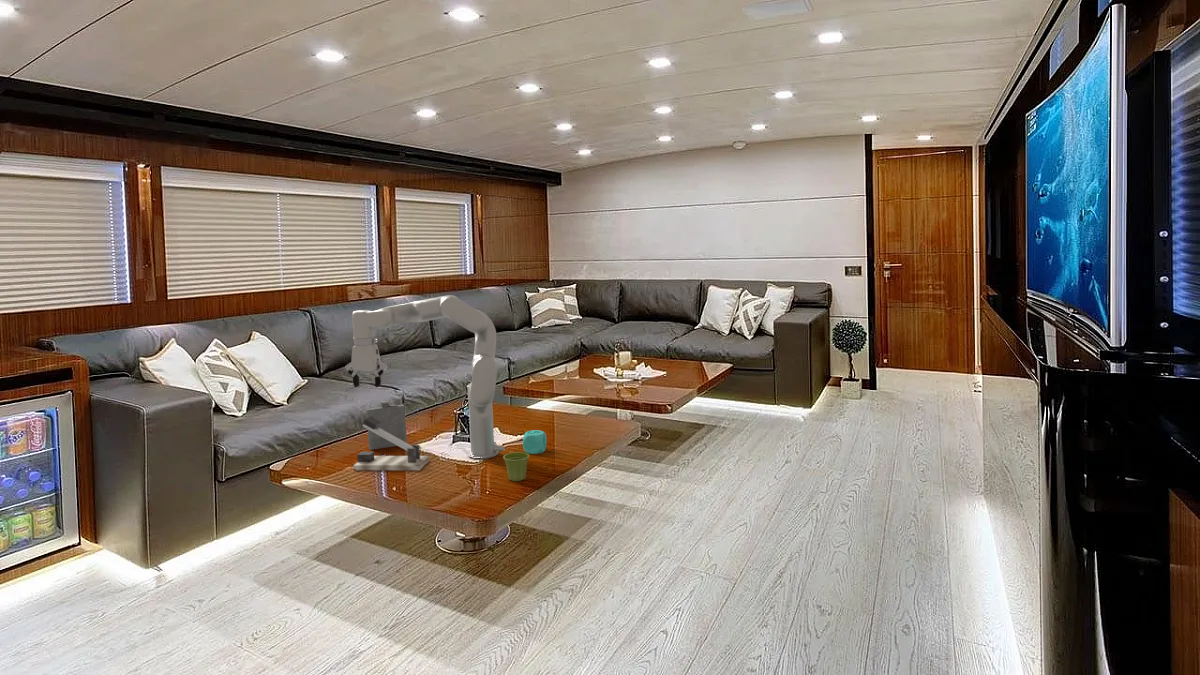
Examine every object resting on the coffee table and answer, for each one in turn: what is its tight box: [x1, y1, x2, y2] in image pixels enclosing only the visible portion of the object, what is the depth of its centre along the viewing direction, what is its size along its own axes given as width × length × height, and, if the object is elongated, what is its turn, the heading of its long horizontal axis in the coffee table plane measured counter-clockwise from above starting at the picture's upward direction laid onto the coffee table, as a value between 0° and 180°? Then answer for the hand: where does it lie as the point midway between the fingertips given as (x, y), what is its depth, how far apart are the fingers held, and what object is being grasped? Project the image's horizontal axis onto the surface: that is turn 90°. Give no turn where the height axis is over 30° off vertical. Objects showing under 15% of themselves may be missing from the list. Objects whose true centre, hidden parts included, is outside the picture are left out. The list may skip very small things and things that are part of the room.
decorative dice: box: [522, 429, 548, 455], centre depth 277 cm, size 8×8×8 cm
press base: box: [353, 444, 430, 471], centre depth 262 cm, size 26×12×8 cm, turn 86°
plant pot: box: [503, 451, 530, 482], centre depth 244 cm, size 9×9×9 cm
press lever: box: [362, 416, 415, 452], centre depth 261 cm, size 22×5×4 cm
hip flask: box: [366, 400, 408, 451], centre depth 288 cm, size 16×4×20 cm, turn 117°
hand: (367, 386), depth 260 cm, fingers open, 7 cm apart
